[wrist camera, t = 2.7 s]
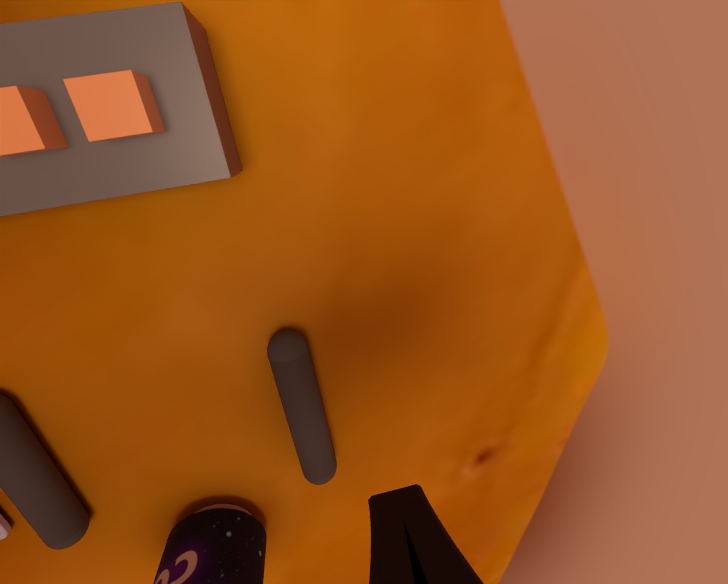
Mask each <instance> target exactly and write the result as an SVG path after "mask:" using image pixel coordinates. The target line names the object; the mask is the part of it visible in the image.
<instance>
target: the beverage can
mask: <svg viewBox="0 0 728 584" xmlns="http://www.w3.org/2000/svg"><path fill="white" fill-rule="evenodd" d="M265 552H266V531H265V529H264V527H263V525H262V524H261V523H260V522H259V521H258V520H257V519H256V518H255V517H253V516H252V515H251V513H250V512H248V511H247V510H246V509H244V508H242V507H239V506H236V505H232V504H215V505H210V506H207V507H204V508H202V509H200V510H198V511H196V512H195V513H194V514H192V515H190V516H188V517H186V518H185V519H183V520H182V521H180V522H179V523H178V524H177V525H176V526H175V527H174V528H173V529H172V531H171V532H170V534H169V537H168V540H167V543H166V546H165V549H164V552H163V555H162V558H161V561H160V564H159V568H158V571H157V574H156V577H155V580H154V583H153V584H263V578H264V565H265Z"/></svg>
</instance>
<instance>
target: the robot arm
mask: <svg viewBox="0 0 728 584" xmlns="http://www.w3.org/2000/svg"><path fill="white" fill-rule="evenodd" d="M368 502H369V509H370V521H371V562H370V580H369V584H483V582H482V581H481V580H480V578H479V577H478V576H477V574H476V573H475V572H474V570H473V569H472V567H471V566H470V565H469V563H468V562H467V560H466V559H465V558H464V556H463V555H462V553H461V552H460V551H459V549H458V548H457V546H456V545H455V543H454V542H453V540H452V539H451V537H450V536H449V534H448V533H447V531H446V530H445V528H444V527H443V525H442V523H441V522H440V520H439V519H438V517H437V515H436V514H435V512H434V510H433V509H432V507H431V505H430V503H429V501H428V500H427V498H426V496H425V494H424V492H423V490H422V488H421V486H419V485H417V484H415V485H412V486H408V487H404V488H400V489H396V490H393V491H389V492H385V493H381V494H377V495H374V496H371V497H370V499H369V500H368ZM10 531H11V526H10V525H9V523H8V522H7V521H6V520H5V518H4V517H3V516H2V515H1V514H0V540H1V539H4V538H5V537H7V535H8V534H9V533H10Z"/></svg>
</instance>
